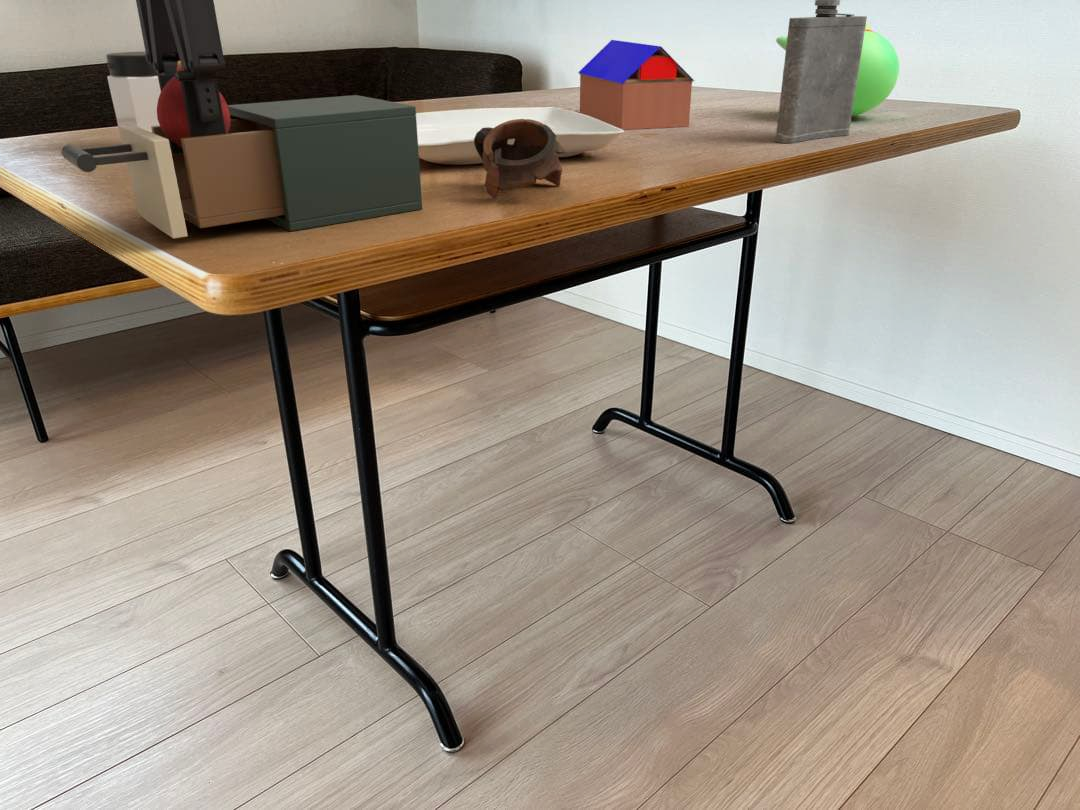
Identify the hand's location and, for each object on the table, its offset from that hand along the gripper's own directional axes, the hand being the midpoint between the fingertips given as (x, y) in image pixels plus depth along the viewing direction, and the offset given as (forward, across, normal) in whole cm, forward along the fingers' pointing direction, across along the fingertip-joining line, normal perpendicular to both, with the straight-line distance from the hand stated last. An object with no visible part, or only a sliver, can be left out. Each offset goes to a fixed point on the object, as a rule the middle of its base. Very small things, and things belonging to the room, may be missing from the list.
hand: (200, 155), depth 73 cm
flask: (+7, -3, -85) cm, 85 cm away
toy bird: (+6, +8, -106) cm, 106 cm away
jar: (+6, +49, -9) cm, 50 cm away
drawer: (+5, 0, +1) cm, 6 cm away
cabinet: (+6, 0, -12) cm, 13 cm away
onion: (0, 0, 0) cm, 0 cm away
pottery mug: (+6, -5, -31) cm, 32 cm away
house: (+6, +27, -78) cm, 82 cm away
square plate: (+6, +18, -44) cm, 48 cm away
